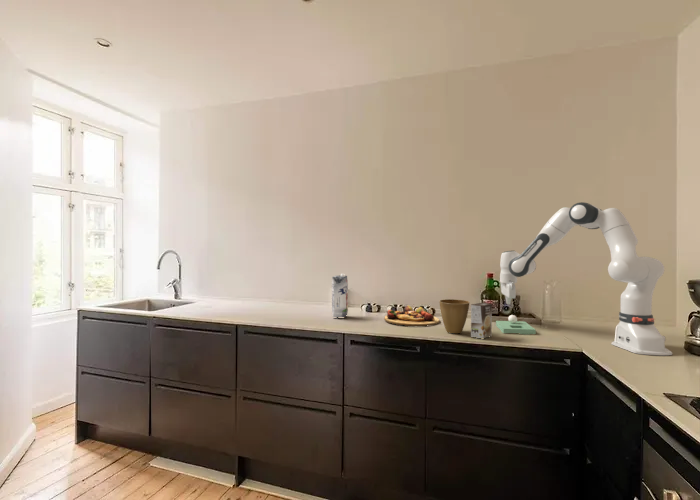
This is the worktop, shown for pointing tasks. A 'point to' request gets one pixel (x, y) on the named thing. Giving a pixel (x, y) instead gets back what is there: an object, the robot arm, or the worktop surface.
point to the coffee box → (481, 320)
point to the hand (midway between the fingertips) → (508, 304)
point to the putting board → (515, 327)
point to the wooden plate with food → (411, 317)
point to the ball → (512, 318)
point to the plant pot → (454, 314)
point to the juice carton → (339, 296)
